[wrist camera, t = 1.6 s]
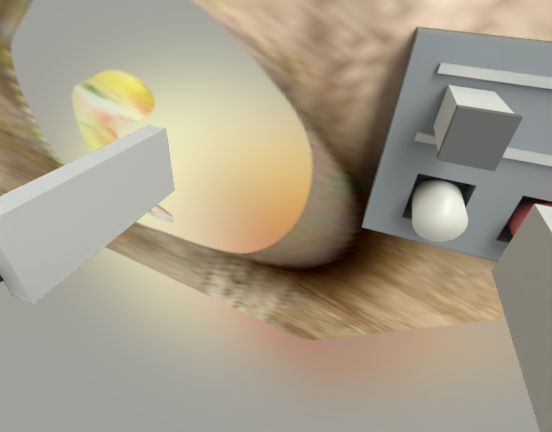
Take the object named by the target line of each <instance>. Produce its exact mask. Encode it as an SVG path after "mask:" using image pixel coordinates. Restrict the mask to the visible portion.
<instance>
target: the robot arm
mask: <svg viewBox="0 0 552 432" xmlns="http://www.w3.org/2000/svg"><path fill="white" fill-rule="evenodd" d="M173 191H174V182H173V175H172V168H171V160H170V153H169V145H168V138H167V132H166V128H162V127H157V126H152V125H148V126H146V127H144V128H142V129H140V130H138V131H135V132H133V133H131V134H129V135H127V136H125V137H123V138H121V139H119V140H117V141H114V142H112V143H110V144H108V145H106V146H104V147H102V148H100V149H98V150H96V151H94V152H92V153H90V154H87V155H85V156H83V157H81V158H79V159H77V160H75V161H73V162H71V163H69V164H66V165H64V166H62V167H60V168H58V169H56V170H54V171H52V172H50V173H48V174H46V175H44V176H41V177H39V178H37V179H35V180H33V181H31V182H29V183H27V184H25V185H23V186H21V187H18V188H16V189H14V190H12V191H10V192H8V193H6V194H4V195H2V196H0V282H1V281H4V283H5V285H6V286H7V288H8V290H9V291H10V293H11V295H12V296H14V297H16V298H19V299H22V300H24V301H27V302H29V303H32V304H34V303H36V302H37V301H38V300H39V299H41V298H42V297H43V296H44V295H46V294H47V293H48V292H49V291H51V290H52V289H53V288H54V287H55V286H57V285H58V284H59V283H60V282H62V281H63V280H64V279H65V278H66V277H68V276H69V275H70V274H72V273H73V272H74V271H75V270H77V269H78V268H79V267H80V266H82V265H83V264H84V263H85V262H86V261H88V260H89V259H90V258H91V257H92V256H94V255H95V254H96V253H98V252H99V251H100V250H101V249H103V248H104V247H105V246H106V245H107V244H109V243H110V242H111V241H112V240H114V239H115V238H116V237H117V236H119V235H120V234H121V233H122V232H124V231H125V230H126V229H127V228H129V227H130V226H131V225H132V224H133V223H135V222H136V221H137V220H138V219H140V218H141V217H142V216H143V215H145V214H146V213H147V212H148V211H150V210H151V209H152V208H153V207H155V206H156V205H157V204H158V203H159V202H161V201H162V200H163V199H164V198H166V197H167V196H168V195H169V194H170V193H172V192H173ZM492 273H493V277H494V280H495V284H496V287H497V290H498V294H499V297H500V300H501V304H502V307H503V310H504V314H505V317H506V320H507V324H508V327H509V330H510V334H511V337H512V340H513V344H514V347H515V350H516V353H517V357H518V360H519V363H520V367H521V370H522V374H523V377H524V380H525V384H526V387H527V390H528V394H529V397H530V400H531V404H532V407H533V410H534V414H535V417H536V420H537V424H538V427H539V430H540V432H552V207H549V206H544V205H539V204H534V205H533V206H532V208H531V210H530V211H529V213H528V214H527V216H526V217H525V219H524V221H523V222H522V224H521V225H520V227H519V229H518V230H517V232H516V233H515V235H514V237H513V238H512V240H511V241H510V243H509V244H508V246H507V248H506V249H505V251H504V252H503V254H502V256H501V257H500V259H499V260H498V262H497V263H496V265H495V267H494V268H493V270H492Z"/></svg>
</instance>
